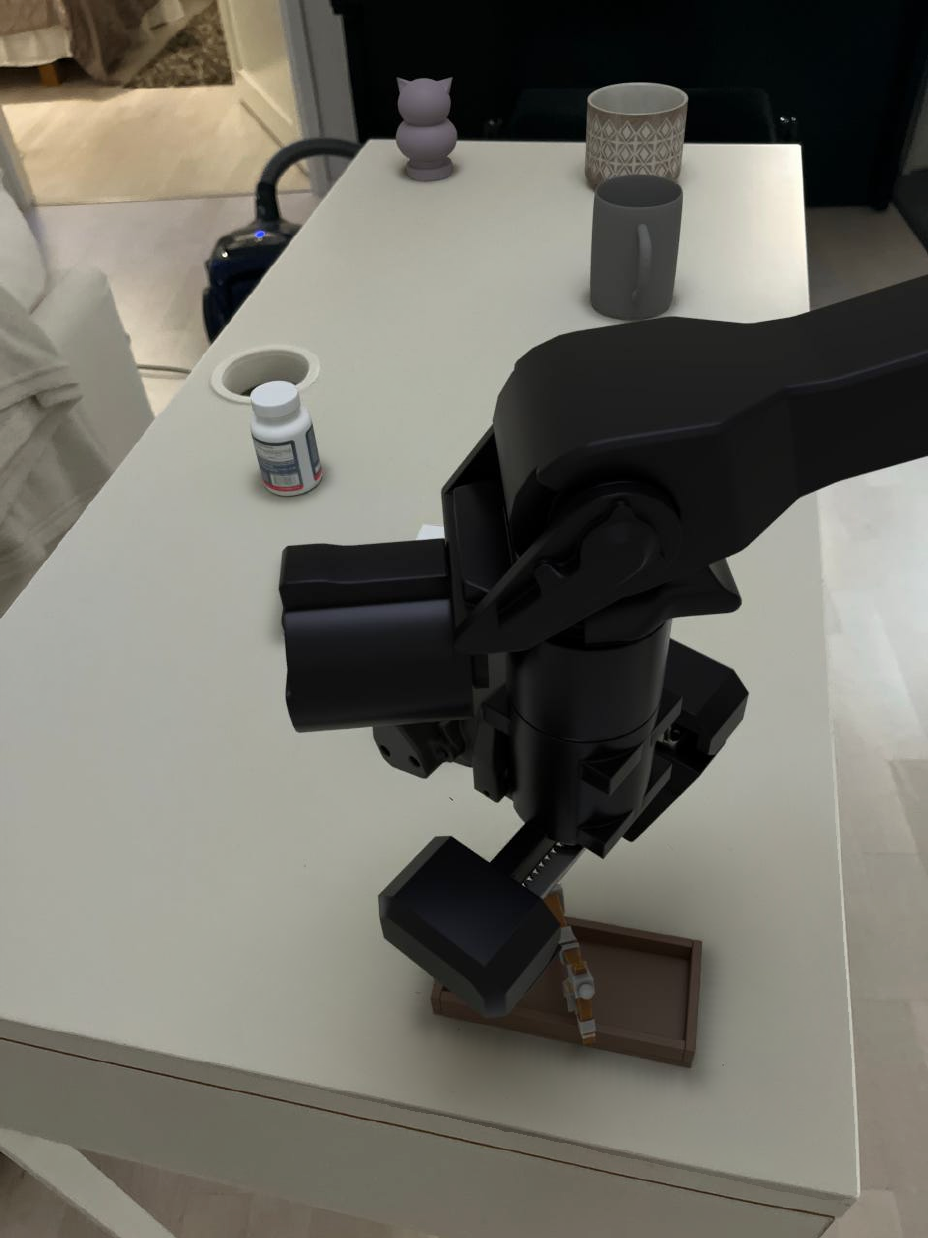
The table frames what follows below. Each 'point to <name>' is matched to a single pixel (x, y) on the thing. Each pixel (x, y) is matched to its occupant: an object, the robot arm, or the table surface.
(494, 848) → the table surface
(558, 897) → the wooden post with brackets
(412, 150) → the cat figurine
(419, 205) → the table surface
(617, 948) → the walnut tray
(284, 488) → the pill bottle
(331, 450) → the table surface
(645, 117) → the planter
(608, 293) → the mug
